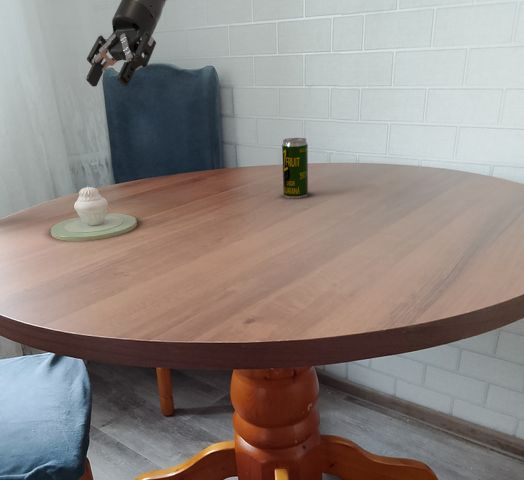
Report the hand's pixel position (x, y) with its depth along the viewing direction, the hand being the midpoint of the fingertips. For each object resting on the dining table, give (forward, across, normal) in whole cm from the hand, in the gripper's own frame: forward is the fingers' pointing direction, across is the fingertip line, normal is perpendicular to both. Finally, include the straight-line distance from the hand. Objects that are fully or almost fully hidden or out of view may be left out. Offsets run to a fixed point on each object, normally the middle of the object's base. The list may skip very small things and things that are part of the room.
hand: (106, 83), depth 103 cm
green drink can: (0, +27, +35) cm, 44 cm away
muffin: (+25, +4, +8) cm, 27 cm away
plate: (+26, +4, +9) cm, 28 cm away
